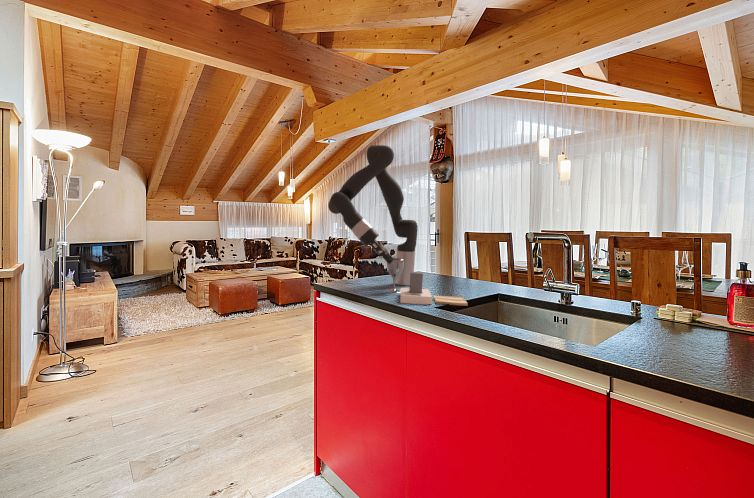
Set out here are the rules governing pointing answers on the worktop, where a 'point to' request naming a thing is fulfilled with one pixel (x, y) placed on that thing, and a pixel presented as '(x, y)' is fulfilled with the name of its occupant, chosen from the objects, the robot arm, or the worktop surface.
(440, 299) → the rest pad
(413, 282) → the grey rectangular block
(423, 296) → the pinkish tan rectangular slab
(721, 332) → the worktop surface
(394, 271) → the wine glass
